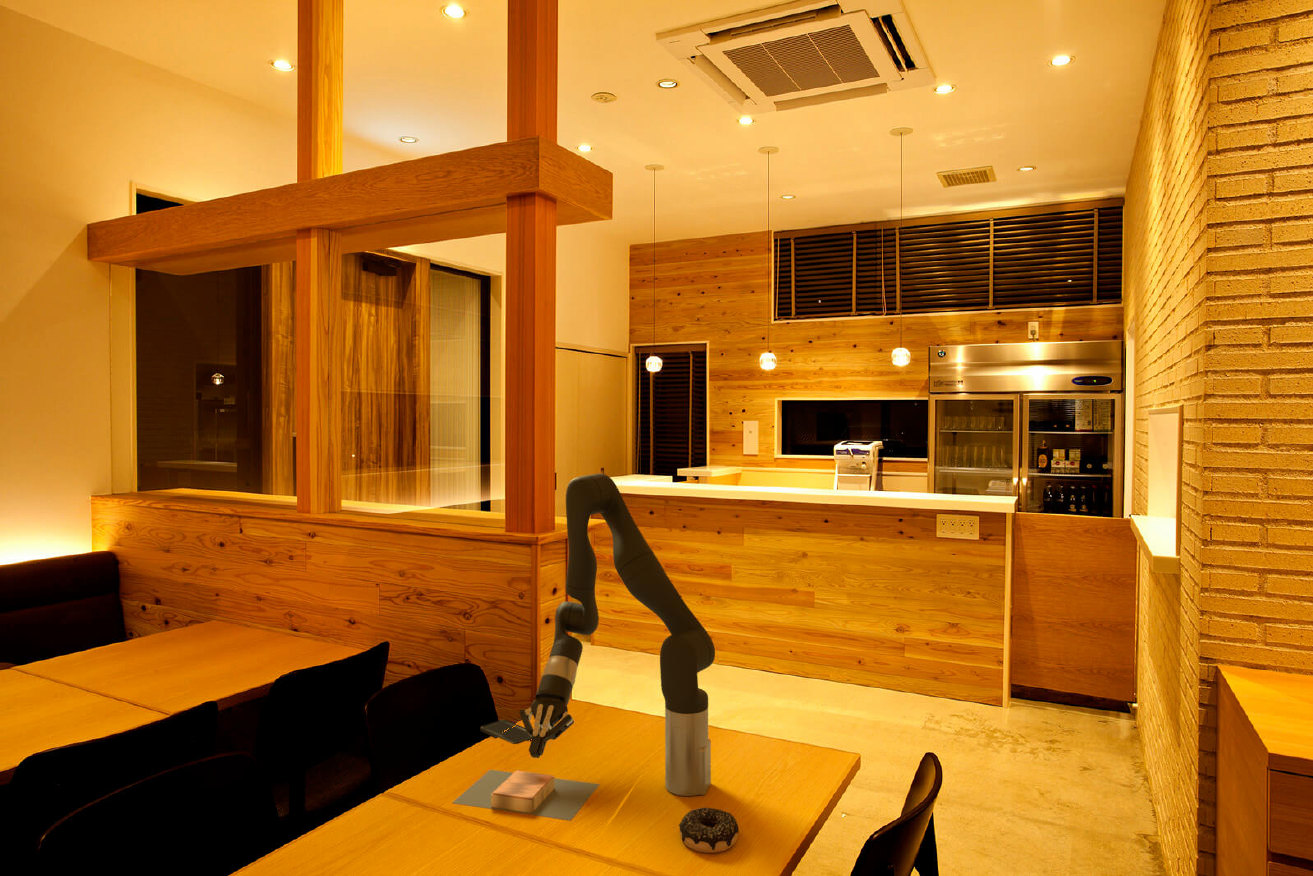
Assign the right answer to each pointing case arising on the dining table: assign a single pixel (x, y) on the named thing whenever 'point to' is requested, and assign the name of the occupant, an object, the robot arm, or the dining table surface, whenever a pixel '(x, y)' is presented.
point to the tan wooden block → (523, 791)
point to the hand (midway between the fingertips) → (534, 756)
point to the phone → (511, 735)
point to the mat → (555, 805)
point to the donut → (709, 830)
